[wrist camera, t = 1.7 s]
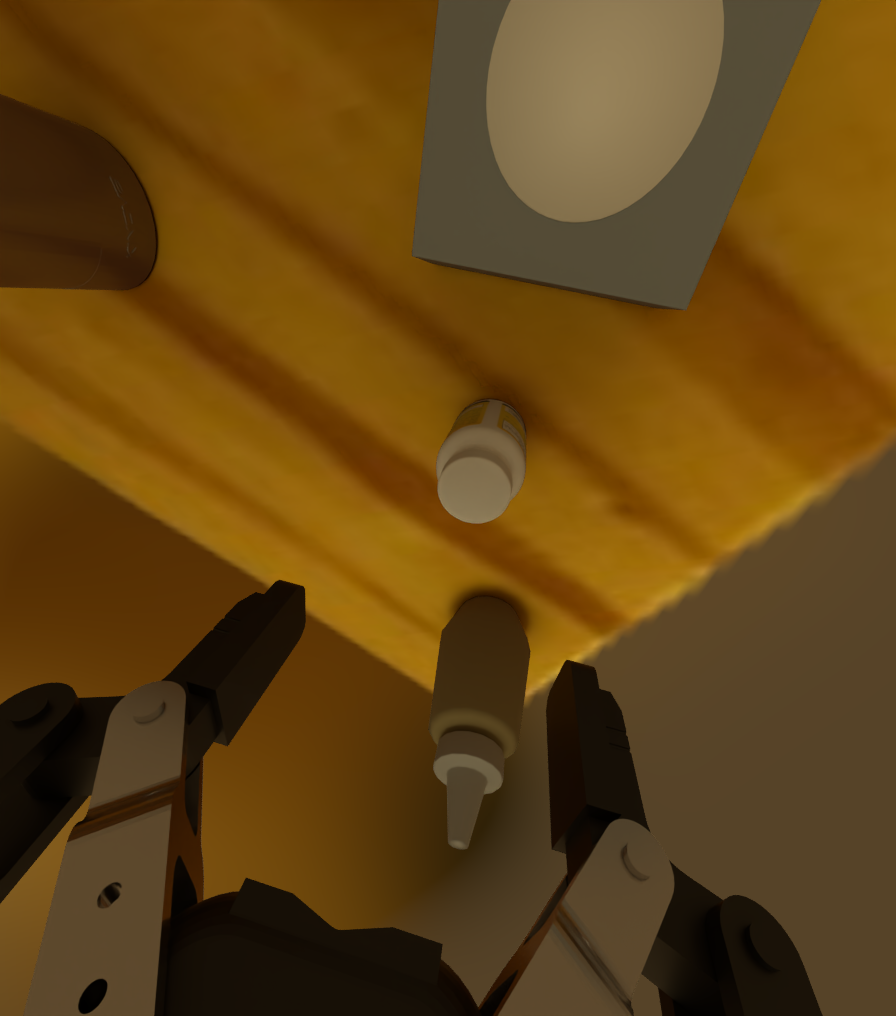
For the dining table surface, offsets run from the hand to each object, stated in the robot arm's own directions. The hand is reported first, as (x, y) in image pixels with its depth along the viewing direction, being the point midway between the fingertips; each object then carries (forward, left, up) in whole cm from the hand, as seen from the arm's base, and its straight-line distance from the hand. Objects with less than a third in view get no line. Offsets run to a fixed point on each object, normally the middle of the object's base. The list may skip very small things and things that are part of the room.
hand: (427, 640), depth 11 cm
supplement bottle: (0, 0, -20) cm, 20 cm away
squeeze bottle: (+4, -18, -20) cm, 27 cm away
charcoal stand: (+1, +17, -20) cm, 26 cm away
